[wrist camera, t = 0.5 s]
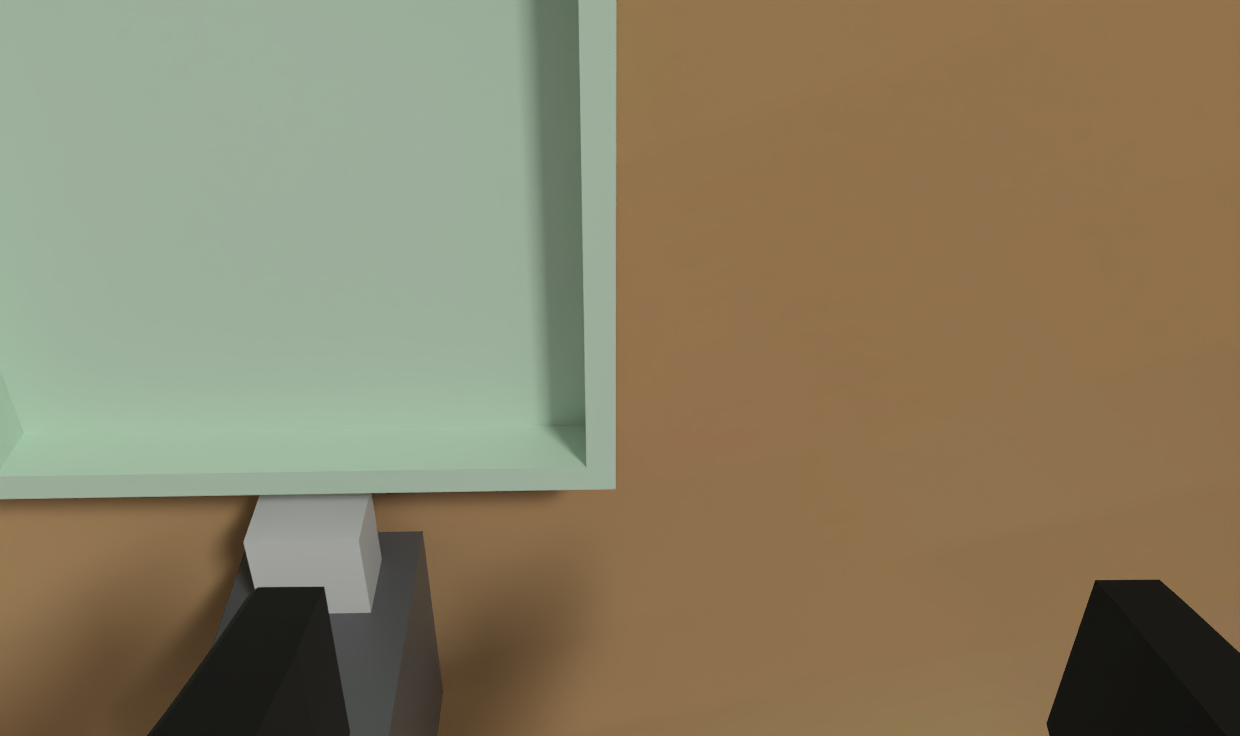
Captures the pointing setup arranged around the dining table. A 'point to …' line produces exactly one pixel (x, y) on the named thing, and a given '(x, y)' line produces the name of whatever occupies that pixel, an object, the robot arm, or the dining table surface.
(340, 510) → the plug
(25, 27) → the tray
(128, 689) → the dining table surface
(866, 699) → the dining table surface
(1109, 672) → the robot arm
